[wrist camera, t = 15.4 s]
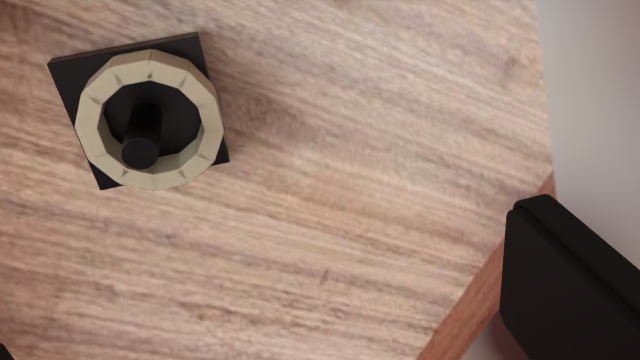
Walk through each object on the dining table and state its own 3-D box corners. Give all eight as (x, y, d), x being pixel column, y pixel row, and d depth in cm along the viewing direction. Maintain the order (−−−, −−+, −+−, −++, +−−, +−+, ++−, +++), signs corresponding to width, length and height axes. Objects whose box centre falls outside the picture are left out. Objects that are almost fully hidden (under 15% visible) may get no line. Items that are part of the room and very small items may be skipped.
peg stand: (197, 31, 31) (199, 60, 26) (228, 154, 36) (236, 202, 30) (51, 58, 30) (19, 95, 25) (102, 182, 35) (86, 237, 29)
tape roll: (202, 38, 31) (203, 48, 28) (232, 156, 35) (235, 173, 33) (62, 65, 29) (52, 78, 27) (111, 183, 34) (106, 202, 32)
